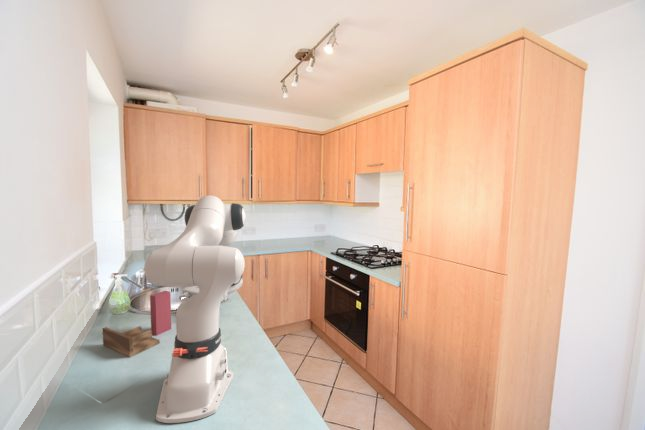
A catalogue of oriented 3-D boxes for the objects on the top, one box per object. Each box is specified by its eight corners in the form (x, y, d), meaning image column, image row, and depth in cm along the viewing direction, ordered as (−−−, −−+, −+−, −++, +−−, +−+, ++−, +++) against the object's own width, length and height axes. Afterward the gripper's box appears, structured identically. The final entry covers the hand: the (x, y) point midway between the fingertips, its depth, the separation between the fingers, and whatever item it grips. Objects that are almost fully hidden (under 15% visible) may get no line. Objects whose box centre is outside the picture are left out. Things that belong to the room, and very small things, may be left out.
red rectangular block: (166, 327, 113) (165, 290, 112) (171, 328, 112) (170, 291, 111) (151, 333, 108) (150, 295, 107) (156, 335, 106) (155, 296, 105)
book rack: (133, 333, 108) (132, 317, 108) (159, 343, 101) (159, 326, 100) (103, 345, 99) (102, 328, 99) (130, 357, 92) (129, 339, 92)
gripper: (197, 280, 137) (171, 288, 124) (229, 287, 127) (204, 296, 115) (198, 293, 137) (171, 302, 125) (229, 300, 128) (204, 311, 116)
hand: (187, 300), depth 120 cm, fingers open, 8 cm apart
